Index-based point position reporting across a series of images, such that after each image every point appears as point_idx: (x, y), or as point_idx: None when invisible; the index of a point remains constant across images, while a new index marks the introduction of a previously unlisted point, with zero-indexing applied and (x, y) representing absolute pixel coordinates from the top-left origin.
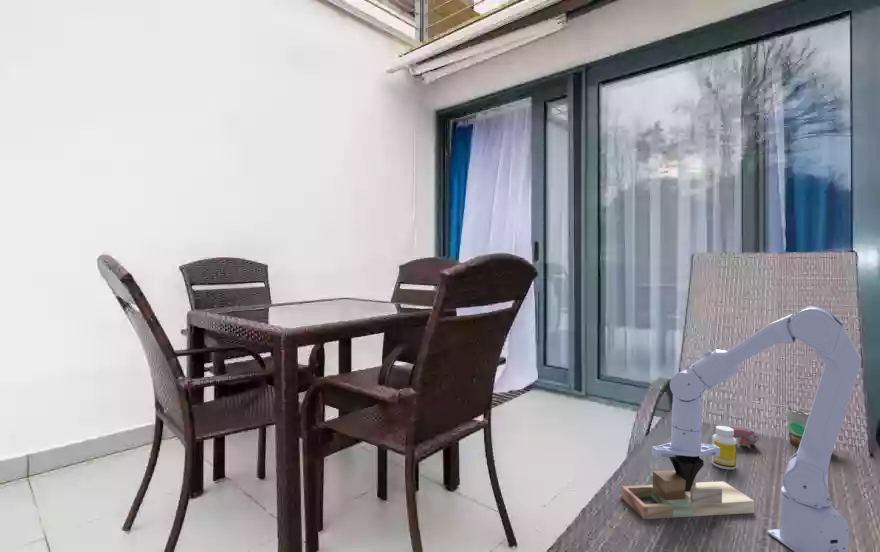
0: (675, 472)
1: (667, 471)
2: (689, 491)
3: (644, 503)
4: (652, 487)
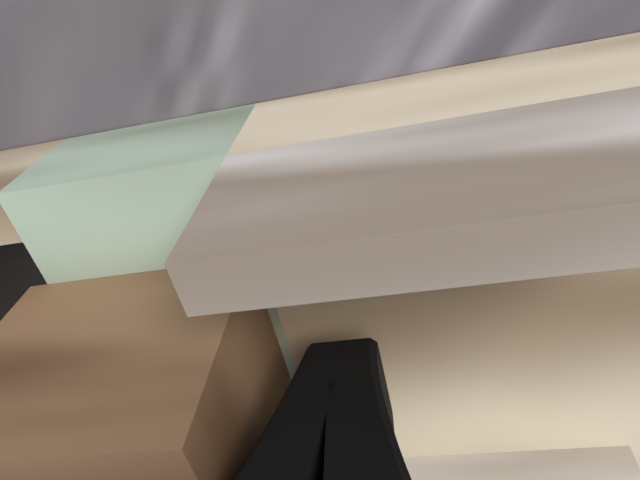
0: (306, 303)
1: (95, 474)
2: (435, 309)
3: (11, 293)
4: (20, 298)
